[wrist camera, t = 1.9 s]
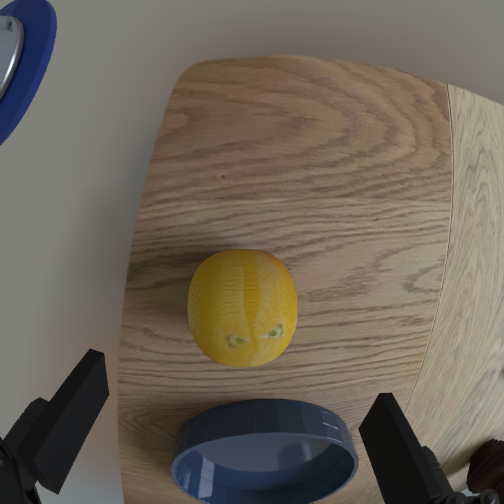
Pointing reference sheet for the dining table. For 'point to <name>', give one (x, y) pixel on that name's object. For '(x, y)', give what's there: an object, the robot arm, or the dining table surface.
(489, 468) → the vase
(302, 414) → the bowl
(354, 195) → the dining table surface
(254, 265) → the fruit
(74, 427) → the robot arm
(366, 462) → the dining table surface
